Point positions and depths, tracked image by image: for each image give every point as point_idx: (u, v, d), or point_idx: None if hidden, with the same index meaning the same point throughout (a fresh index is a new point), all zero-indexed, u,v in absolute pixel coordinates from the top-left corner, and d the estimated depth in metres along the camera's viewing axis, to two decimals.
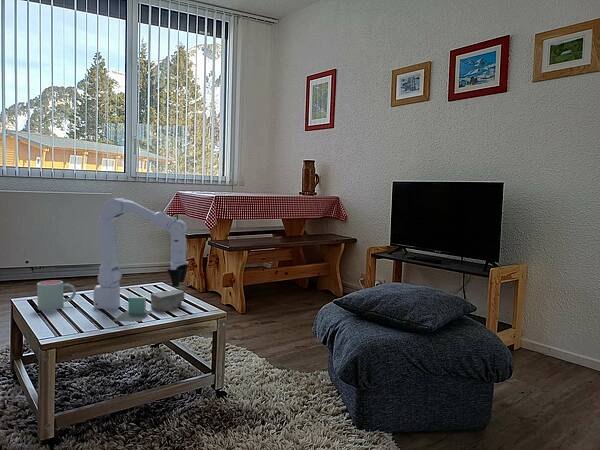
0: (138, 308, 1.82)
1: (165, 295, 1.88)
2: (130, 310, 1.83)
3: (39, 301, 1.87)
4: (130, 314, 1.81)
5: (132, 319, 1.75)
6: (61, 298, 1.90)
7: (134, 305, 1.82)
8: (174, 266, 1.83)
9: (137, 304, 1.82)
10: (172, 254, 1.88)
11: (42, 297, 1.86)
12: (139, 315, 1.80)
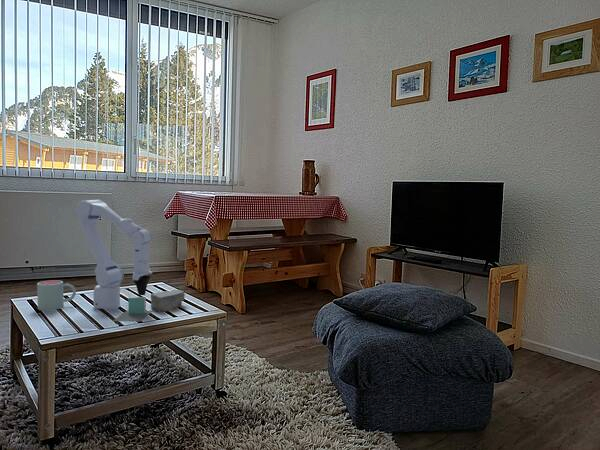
0: (138, 308, 1.82)
1: (165, 295, 1.88)
2: (130, 310, 1.83)
3: (39, 301, 1.87)
4: (130, 314, 1.81)
5: (132, 319, 1.75)
6: (61, 298, 1.90)
7: (134, 305, 1.82)
8: (136, 276, 1.80)
9: (137, 304, 1.82)
10: (135, 264, 1.85)
11: (42, 297, 1.86)
12: (139, 315, 1.80)
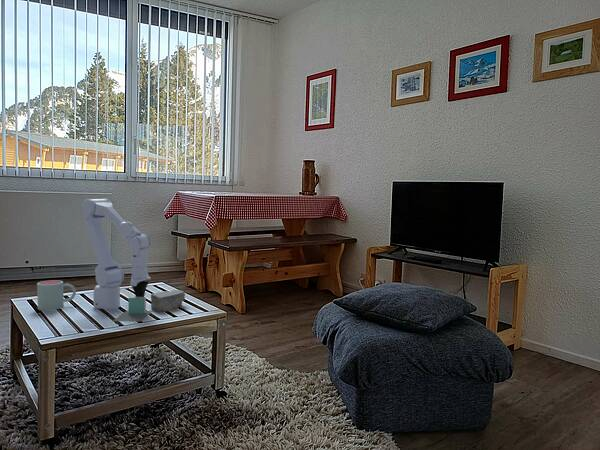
0: (138, 308, 1.82)
1: (165, 295, 1.88)
2: (130, 310, 1.83)
3: (39, 301, 1.87)
4: (130, 314, 1.81)
5: (132, 319, 1.75)
6: (61, 298, 1.90)
7: (134, 305, 1.82)
8: (134, 282, 1.78)
9: (137, 304, 1.82)
10: (133, 270, 1.83)
11: (42, 297, 1.86)
12: (139, 315, 1.80)
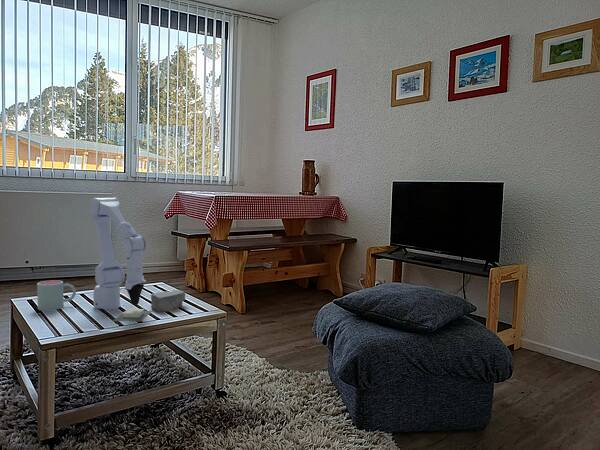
0: None
1: (165, 295, 1.88)
2: None
3: (39, 301, 1.87)
4: None
5: (132, 319, 1.75)
6: (61, 298, 1.90)
7: None
8: (129, 285, 1.73)
9: None
10: (128, 272, 1.78)
11: (42, 297, 1.86)
12: None
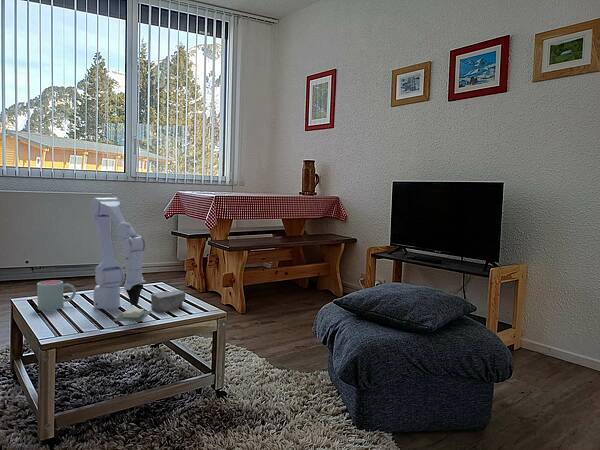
0: None
1: (165, 295, 1.88)
2: None
3: (39, 301, 1.87)
4: None
5: (132, 319, 1.75)
6: (61, 298, 1.90)
7: None
8: (128, 286, 1.72)
9: None
10: (127, 273, 1.77)
11: (42, 297, 1.86)
12: None
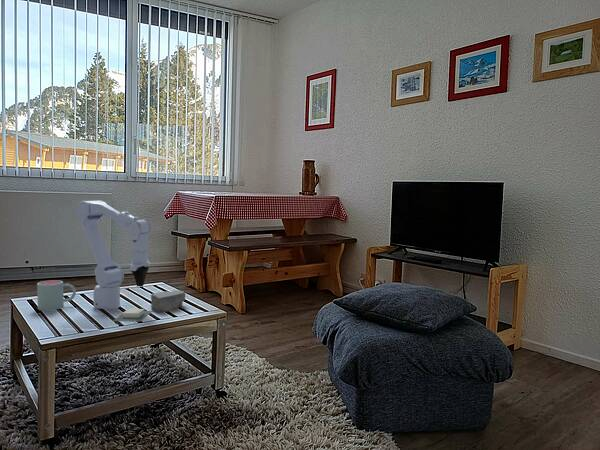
0: None
1: (165, 295, 1.88)
2: None
3: (39, 301, 1.87)
4: None
5: (132, 319, 1.75)
6: (61, 298, 1.90)
7: None
8: (133, 267, 1.78)
9: None
10: (133, 255, 1.83)
11: (42, 297, 1.86)
12: None
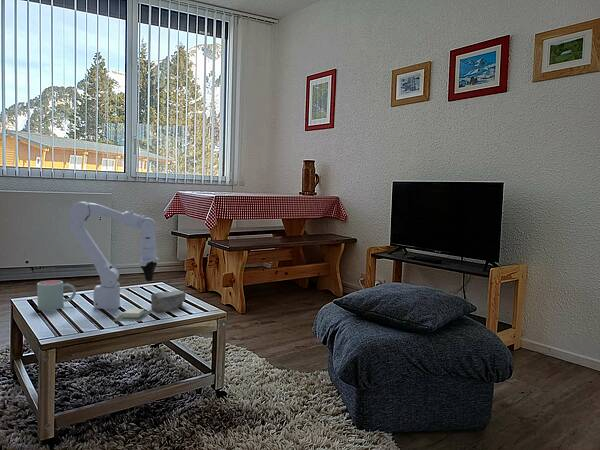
0: None
1: (165, 296, 1.87)
2: None
3: (39, 301, 1.87)
4: None
5: (132, 319, 1.75)
6: (61, 298, 1.90)
7: None
8: (143, 262, 1.88)
9: None
10: (142, 251, 1.92)
11: (42, 297, 1.86)
12: None
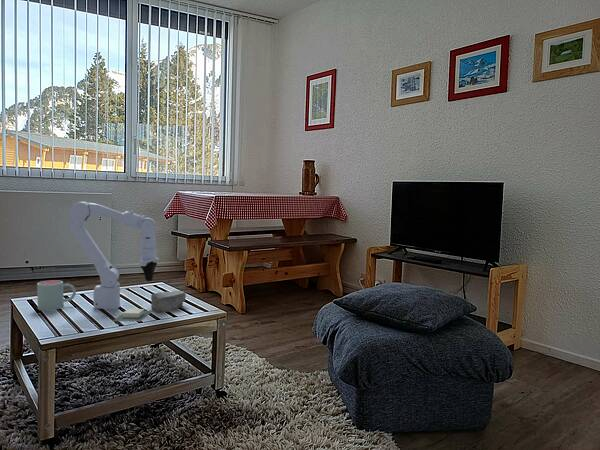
0: None
1: (165, 296, 1.87)
2: None
3: (39, 301, 1.87)
4: None
5: (132, 319, 1.75)
6: (61, 298, 1.90)
7: None
8: (143, 262, 1.88)
9: None
10: (142, 251, 1.92)
11: (42, 297, 1.86)
12: None
